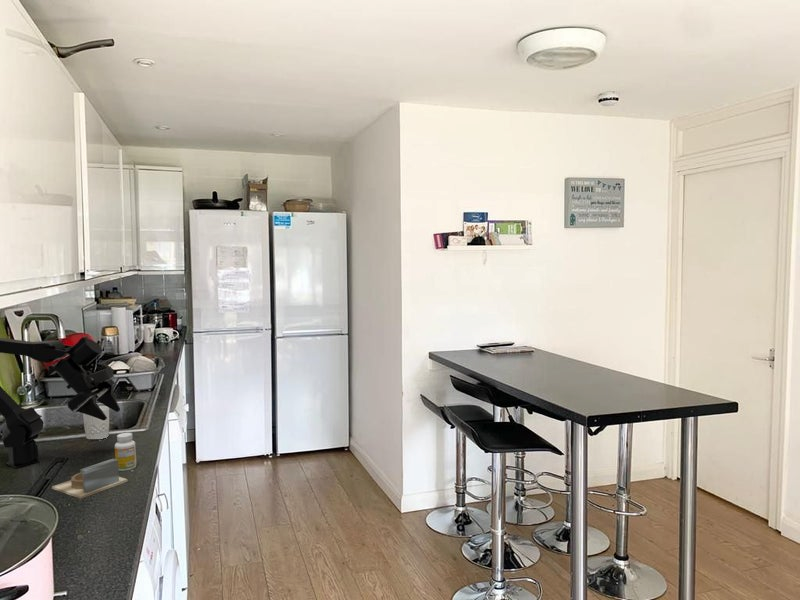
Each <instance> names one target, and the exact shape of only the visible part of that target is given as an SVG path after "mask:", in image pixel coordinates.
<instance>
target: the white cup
mask: <svg viewBox="0 0 800 600" xmlns="http://www.w3.org/2000/svg"><path fill="white" fill-rule="evenodd" d="M98 406H99V407H100V409H101V410H102V411H103V413H104V414H105V416H106V417H107V419H106V420H104V421H103V420H101V419H98V418H95V417H93V416H90V415H87V414H84V413H82V418H83V427H84V432H85V439H86V438H87V439H103V438H106V439H108V438H109V437H108V436H109V435H110V431H109V430H110V408H109V407H107V406H105V405H98ZM107 437H108V438H107Z"/></svg>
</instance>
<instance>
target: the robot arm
mask: <svg viewBox="0 0 800 600" xmlns="http://www.w3.org/2000/svg"><path fill="white" fill-rule="evenodd" d="M0 353H1V354H8V355H9V354H10V355H16V356H25V357H27V358H30V359H32V360H34V361H37V362H41V363H44V364H49V363H52V362H55V361H57V362H56V363H55V364H51V365H50V364H49V365H48V371H47V375H48V376H51V375H54V374H56V373H57V374H58V375H59V376H60V377H61V379H62V380H64V381H65V383H66V384H67V386H66V388H67V389H68V390H70V389H72V390H73V391H74V393H76V395H75V396H73V397H72V398H71V399H70V400H68V402H67V407H68V408H69V410H70V411H71V412H76V413H81V414H83V413H84V414H87V415H90V416H93V417H95V418H98V419H101V420H103V421H104V420H106V419H107V417H106V416H105V414H104V413H103V411H102V410H101V409H100V407H99V406H100V405H98V403H100V404H102V405H103V406H107V407H109V410H113V411H115V412H116V413H118V412H119V411H121V408H120V406H119V404H118V401H117V399H116V397H115V394H114V391H115V388H116V386H115V385H116V382H115V381H114V380H113V379H112V378H114V377H115V375H114V372H115V369H113V368H112V366H109V364H106V365H103V366H100V367H99V371H96V372H94V373H93V371H91V370H87V371H86V370H85V369H84V368H83V367H82V366H89V364H91V363H92V362H93V361H94V360H96V359H97V358H98V357H99V355H101V354H102V353H103V348H102V347H101V345H100V344H99V343H98V342H95V340H93V339H90V338H88V336H82V337H80V338H79V340H78V342H76V343H75V344H74V345H73V346H72V345H68V344H65V343H64V342H62V341H61V340H58V339H57V340H56V339H55V340H54V339H53V340H39V341H30V340H28V341H27V340H21V339H13V338H6V337H5V338H4V337H0ZM67 356H68V357H67ZM65 357H66V358H65ZM58 360H59V361H58ZM96 401H97V402H98V403H97V402H96ZM0 415H1V416H2V417H3V418H4V420H5V424H6V428H7V430H8V432H9V434H8V435H7V436H5V438H3V440H2V444H3V446H4V447H5V448H7V452H8V453H7V454H8V461H7V462H6V463H7V464H8V465H7V464H6V465H7V466H10V467H12V468H15V469H19V468H21V466H22V467H26V466H29V465H28V464H30V465H32V464H31V463H33V464H36V463H35V462H37V463H39V462H40V459H39V446H38V444H37V442H36V439H38V438H39V435H40V433H42V431H43V428H44V423H45V422H44V421H43V419H42V417H43V415H40V414H39V413H38V412H37V411H36V409H35V408H34V407H31V406H30V407H28V408H27V409H26V408H24V407H21V406H20V404H18V402H16V401H15V400H14V398H12V396H11V395H9V393H8V392H7V391H5V389H4V388H3V387H2V386H1V385H0ZM38 461H39V462H38ZM25 465H26V466H25Z"/></svg>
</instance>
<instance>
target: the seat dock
mask: <svg viewBox="0 0 800 600" xmlns="http://www.w3.org/2000/svg"><path fill="white" fill-rule="evenodd" d="M119 472H120V471H119V469H118V460H116V459H115V458H111V459H108V460H104V461H101V462H99V463H96V464H93V465H89V466H86V467H84V468H80V469H79V472H78V473H75V474H74V475H72V476H71V477H70V480H67V481H63V482H61V483H58V484H56V485H52V486H51V490H54V491H57V492H60V493H63V494H66V495H68V496H72V497H75V498H76V499H80V500H81V499H84V498H87V497H89V496H92V495H95V494H97V493H100V492H103V491H105V490H109V489H112V488H113V487H114V488H115V487H116V486H119V485H122V484H125V483H127V482H128V479H127V478H124V477H121V476H120V473H119Z"/></svg>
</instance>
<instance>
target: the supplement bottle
mask: <svg viewBox="0 0 800 600" xmlns="http://www.w3.org/2000/svg"><path fill="white" fill-rule="evenodd" d="M116 440H117V442H116V443H115V444H114V455H115V456H114V459H116V460H118V469H119V472H125V471H130V470H134V469H135V468H136V467H137V450H136V449H137V448H136V441H134V440H133V433H132V432H124V433H123V432H122V433H119V434H117V435H116Z"/></svg>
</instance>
